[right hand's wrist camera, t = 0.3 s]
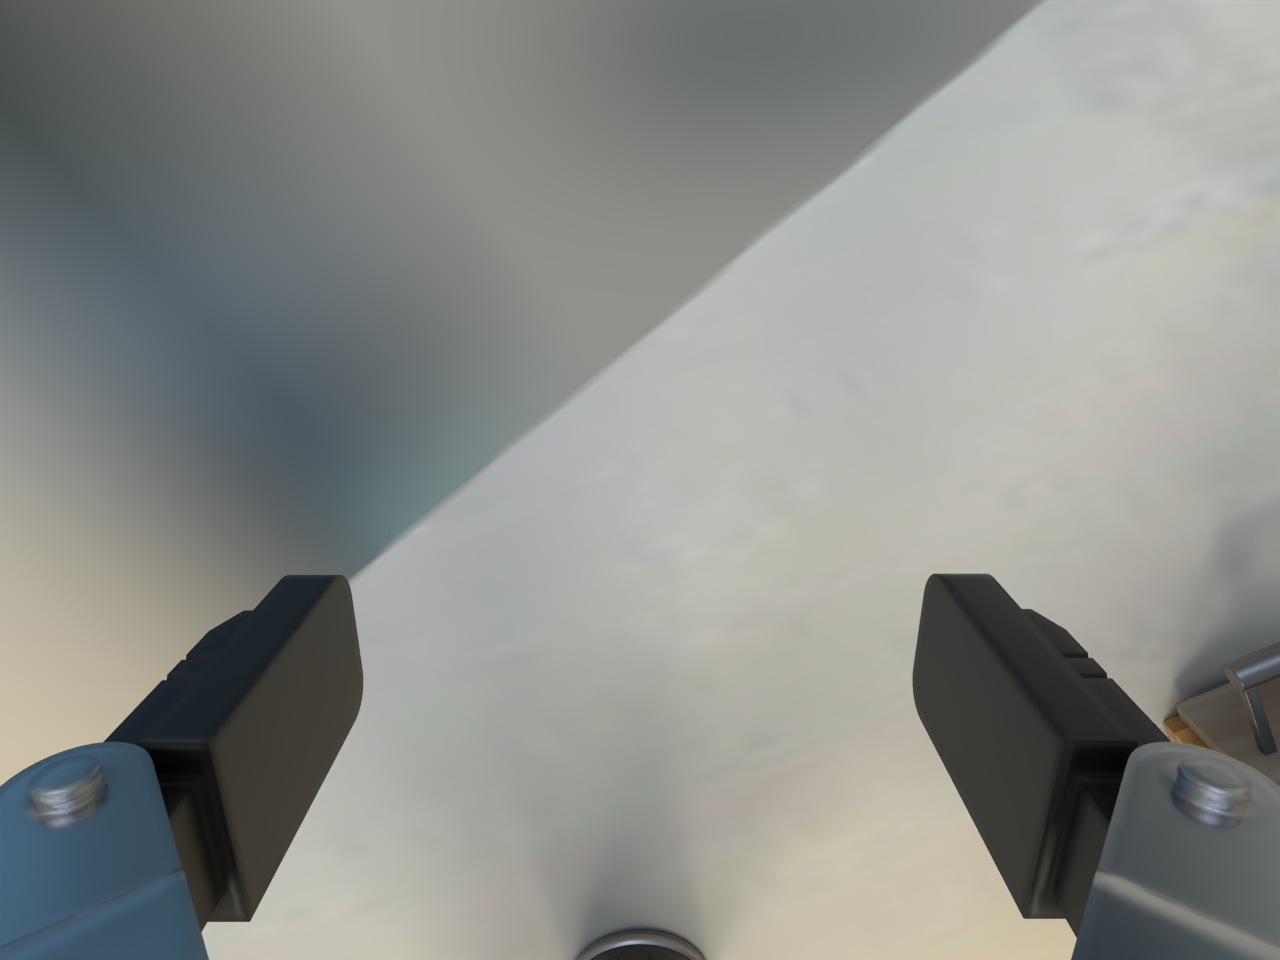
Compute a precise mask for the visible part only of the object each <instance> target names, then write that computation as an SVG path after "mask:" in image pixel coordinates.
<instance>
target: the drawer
mask: <svg viewBox="0 0 1280 960" xmlns="http://www.w3.org/2000/svg"><path fill="white" fill-rule="evenodd" d="M1223 670H1224V673H1225V675H1226V677H1227V678H1228V680H1229V681H1230V682H1229V683H1227V684H1224V685H1222V686H1219V687H1217V688H1214V689H1212V690H1209V691H1207V692H1204V693H1202V694H1200V695H1197V696H1195V697H1192V698H1190V699H1187V700H1185V701H1182V702H1180V703H1177V704H1176V708H1177V711H1178V713H1179V716H1180V719H1181V720H1182V721H1183V722H1184V723H1185V724H1186V725H1187V726H1188V727H1189V728H1190V729H1191V730H1192V731H1193V732H1194V733H1195V734H1196V735H1197V736H1198V737H1199V738H1200V739H1201V740H1202V741H1203V742H1204V743H1205V744H1206V745H1207V746H1208V747H1209V748H1210V749H1211V750H1214V751H1217V752H1220V753H1223V754H1225V755H1228V756H1230V757H1233V758H1235V759H1237V760H1239V761H1241V762H1243V763H1245V764H1247V765H1249V766H1251V767H1252V768H1254V769H1256V770H1258V771H1259V772H1261V773H1262V774H1264V775H1265V776H1267V777H1268V778H1270V779H1271V780H1272V781H1273V782H1275V783H1276V784H1277V785H1278V786H1280V642H1278V643H1276V644H1273V645H1271V646H1268V647H1266V648H1263V649H1261V650H1259V651H1256V652H1254V653H1251V654H1249V655H1246V656H1244V657H1242V658H1239V659H1237V660H1234V661H1232V662H1229V663H1227V664H1224V665H1223Z"/></svg>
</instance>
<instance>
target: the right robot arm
mask: <svg viewBox="0 0 1280 960" xmlns="http://www.w3.org/2000/svg"><path fill="white" fill-rule="evenodd" d="M362 694H363V670H362V663H361V656H360V649H359V642H358V635H357V628H356V621H355V614H354V607H353V600H352V594H351V589H350V585H349V583H348V581H347V579H346V578H345V577H344V576H342V575H287V576H285V577H283V578H282V579H281V580H280V581H279V582H278V583H277V584H276V586H275V587H274V588H273V589H272V590H271V591H270V592H269V593H268V595H267V596H266V597H265V598H264V599H263V600H262V601H261V602H260V604H259V605H258V606H257V607H256V608H255V609H254V610H253V611H243V612H241V613H239V614H237V615H236V616H234V617H232V618H231V619H229V620H227V621H225V622H224V623H222V624H220V625H219V626H217V627H215V628H214V629H212V630H210V631H209V632H208V633H207V634H206V635H205V636H204V637H203V638H202V639H201V640H200V641H199V642H198V643H197V644H196V645H195V646H194V647H193V649H192V650H191V651H190V652H189V653H188V654H187V655H186V660H181V661H180V662H179V663H178V664H177V665H176V667H174V668H173V670H172V671H171V672H170V673H169V674H168V675H167V680H162V681H161V682H160V683H159V684H158V685H157V686H156V687H155V688H154V689H153V691H152V692H151V693H150V694H149V695H148V696H147V697H146V698H145V699H144V700H143V701H142V702H141V703H140V704H139V705H138V706H137V707H136V708H135V709H134V711H133V712H132V713H131V714H130V715H129V716H128V717H127V718H126V719H125V720H124V721H123V722H122V723H121V724H120V725H119V726H118V727H117V728H116V729H115V730H114V732H113V733H112V734H111V735H110V736H109V737H108V738H107V739H106V740H105V741H104V742H103V743H94V744H89V745H84V746H80V747H76V748H72V749H69V750H66V751H63V752H60V753H57V754H55V755H52V756H50V757H47V758H45V759H43V760H41V761H39V762H37V763H35V764H33V765H31V766H29V767H28V768H26V769H24V770H22V771H21V772H19V773H18V774H16V775H15V776H13V777H12V778H10V779H9V780H8V781H7V782H5V783H4V784H3V785H2V786H0V960H209V958H208V955H207V951H206V948H205V944H204V941H203V937H202V933H201V932H202V930H203V928H204V927H205V925H206V923H207V922H250V920H251V918H252V917H253V915H254V913H255V911H256V909H257V907H258V905H259V903H260V901H261V899H262V898H263V896H264V894H265V892H266V890H267V888H268V886H269V884H270V882H271V880H272V878H273V877H274V875H275V873H276V871H277V869H278V867H279V865H280V863H281V861H282V859H283V858H284V856H285V854H286V852H287V850H288V848H289V846H290V844H291V842H292V840H293V838H294V837H295V835H296V833H297V831H298V829H299V827H300V825H301V823H302V821H303V819H304V817H305V816H306V814H307V812H308V810H309V808H310V806H311V804H312V802H313V800H314V798H315V797H316V795H317V793H318V791H319V789H320V787H321V785H322V783H323V781H324V779H325V777H326V776H327V774H328V772H329V770H330V768H331V766H332V764H333V762H334V760H335V758H336V757H337V755H338V753H339V751H340V749H341V747H342V745H343V743H344V741H345V739H346V737H347V736H348V734H349V732H350V730H351V728H352V726H353V724H354V722H355V720H356V718H357V716H358V713H359V709H360V706H361V701H362ZM913 694H914V700H915V705H916V709H917V712H918V715H919V717H920V719H921V721H922V723H923V725H924V727H925V729H926V731H927V733H928V735H929V737H930V739H931V740H932V742H933V744H934V746H935V748H936V750H937V752H938V754H939V756H940V758H941V760H942V762H943V764H944V766H945V767H946V769H947V771H948V773H949V775H950V777H951V779H952V781H953V783H954V785H955V787H956V789H957V791H958V793H959V794H960V796H961V798H962V800H963V802H964V804H965V806H966V808H967V810H968V812H969V814H970V816H971V818H972V820H973V821H974V823H975V825H976V827H977V829H978V831H979V833H980V835H981V837H982V839H983V841H984V843H985V845H986V847H987V849H988V850H989V852H990V854H991V856H992V858H993V860H994V862H995V864H996V866H997V868H998V870H999V872H1000V874H1001V876H1002V877H1003V879H1004V881H1005V883H1006V885H1007V887H1008V889H1009V891H1010V893H1011V895H1012V897H1013V899H1014V901H1015V903H1016V904H1017V906H1018V908H1019V910H1020V912H1021V914H1022V916H1023V918H1024V919H1066V920H1067V922H1068V923H1069V925H1070V927H1071V929H1072V930H1073V932H1074V934H1075V936H1076V937H1077V941H1076V944H1075V948H1074V951H1073V955H1072V958H1071V960H1280V786H1278V785H1277V784H1276V783H1275V782H1273V781H1272V780H1271V779H1270V778H1268V777H1267V776H1265V775H1264V774H1262V773H1261V772H1259V771H1258V770H1256V769H1254V768H1252V767H1251V766H1249V765H1247V764H1245V763H1243V762H1241V761H1239V760H1237V759H1235V758H1233V757H1230V756H1228V755H1225V754H1223V753H1220V752H1217V751H1214V750H1211V749H1208V748H1204V747H1201V746H1196V745H1191V744H1186V743H1178V742H1171V741H1170V740H1169V739H1168V738H1167V737H1166V735H1165V734H1164V733H1163V732H1162V731H1161V730H1160V729H1159V728H1158V727H1157V726H1156V725H1155V724H1154V723H1153V722H1152V721H1151V720H1150V719H1149V717H1148V716H1147V715H1146V714H1145V713H1144V712H1143V711H1142V710H1141V709H1140V708H1139V707H1138V706H1137V705H1136V704H1135V703H1134V702H1133V701H1132V699H1131V698H1130V697H1129V696H1128V695H1127V694H1126V693H1125V692H1124V691H1123V690H1122V689H1121V688H1120V687H1119V686H1118V685H1117V684H1116V682H1115V681H1114V680H1113V679H1112V678H1107V673H1106V672H1105V671H1104V670H1103V669H1102V668H1101V667H1100V666H1099V664H1098V663H1097V662H1096V661H1095V660H1094V659H1093V658H1088V653H1087V652H1086V651H1085V650H1084V649H1083V647H1082V646H1081V645H1080V644H1079V643H1078V642H1077V641H1076V640H1075V639H1074V638H1073V637H1072V636H1071V635H1070V634H1069V633H1068V632H1067V631H1066V629H1064V628H1062V627H1060V626H1059V625H1057V624H1055V623H1054V622H1052V621H1050V620H1049V619H1047V618H1045V617H1043V616H1042V615H1040V614H1038V613H1037V612H1035V611H1033V610H1032V609H1021V608H1020V607H1019V606H1018V604H1017V603H1016V602H1015V601H1014V600H1013V599H1012V598H1011V597H1010V595H1009V594H1008V593H1007V592H1006V591H1005V590H1004V589H1003V588H1002V586H1001V585H1000V584H999V583H998V582H997V581H996V580H995V579H994V578H993V577H992V576H991V575H989V574H932V575H931V576H930V577H929V579H928V581H927V583H926V586H925V590H924V596H923V604H922V611H921V618H920V625H919V632H918V639H917V646H916V653H915V660H914V667H913ZM577 960H704V958H703V957H702V956H701V954H700V953H699V952H698V951H697V950H696V949H695V948H694V947H693V946H691V945H690V944H689V943H687V942H686V941H684V940H682V939H680V938H678V937H675V936H673V935H670V934H667V933H663V932H659V931H652V930H629V931H622V932H618V933H614V934H611V935H608V936H606V937H603V938H601V939H599V940H597V941H596V942H594V943H593V944H591V945H590V946H588V947H587V948H586V949H585V950H584V951H583V952H582V953H581V954H580V956H579V957H578V958H577Z"/></svg>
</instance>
